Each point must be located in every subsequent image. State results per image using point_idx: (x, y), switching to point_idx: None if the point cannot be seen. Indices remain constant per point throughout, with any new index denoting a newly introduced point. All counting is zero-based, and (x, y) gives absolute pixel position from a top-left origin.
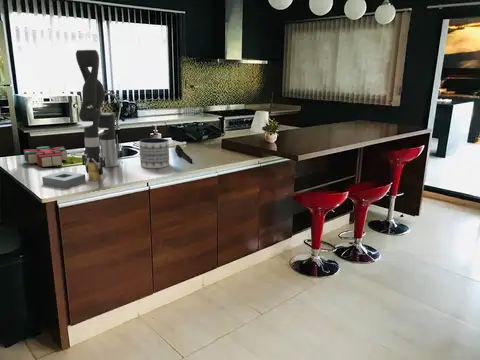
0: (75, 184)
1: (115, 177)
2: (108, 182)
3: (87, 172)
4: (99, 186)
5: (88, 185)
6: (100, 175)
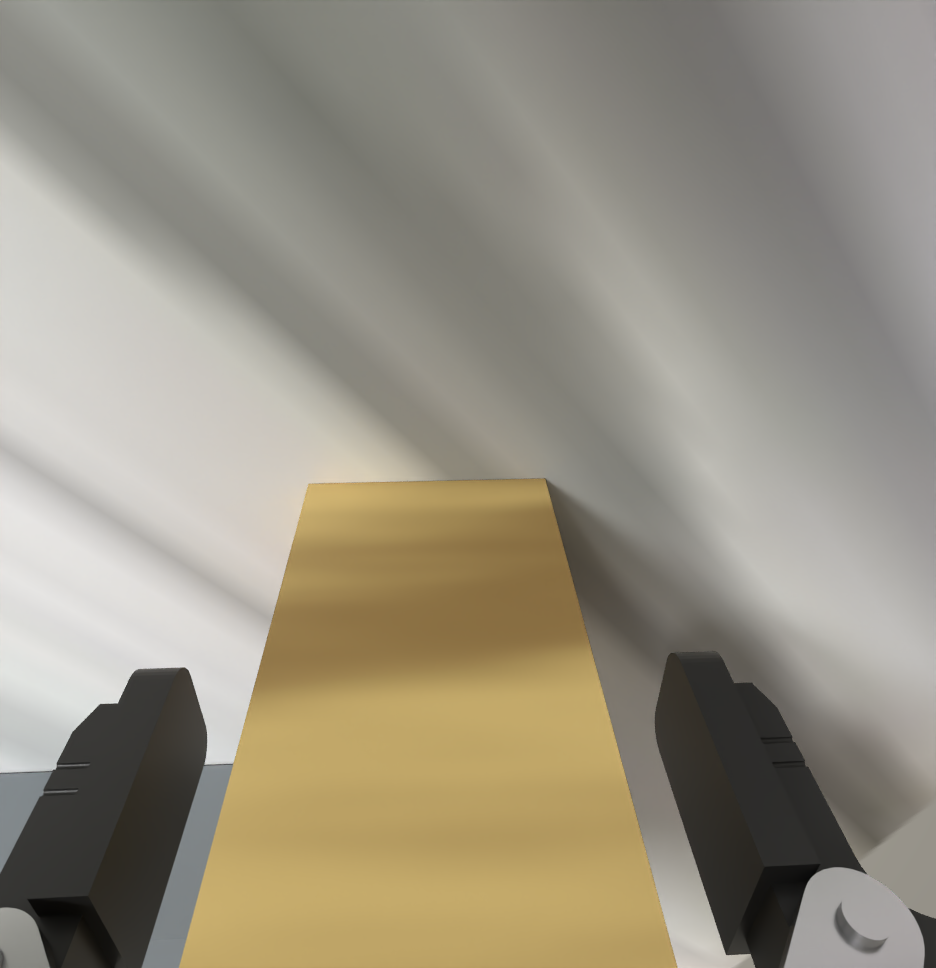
0: None
1: (905, 131)
2: (906, 614)
3: (189, 771)
4: (845, 818)
5: None
6: (559, 557)
